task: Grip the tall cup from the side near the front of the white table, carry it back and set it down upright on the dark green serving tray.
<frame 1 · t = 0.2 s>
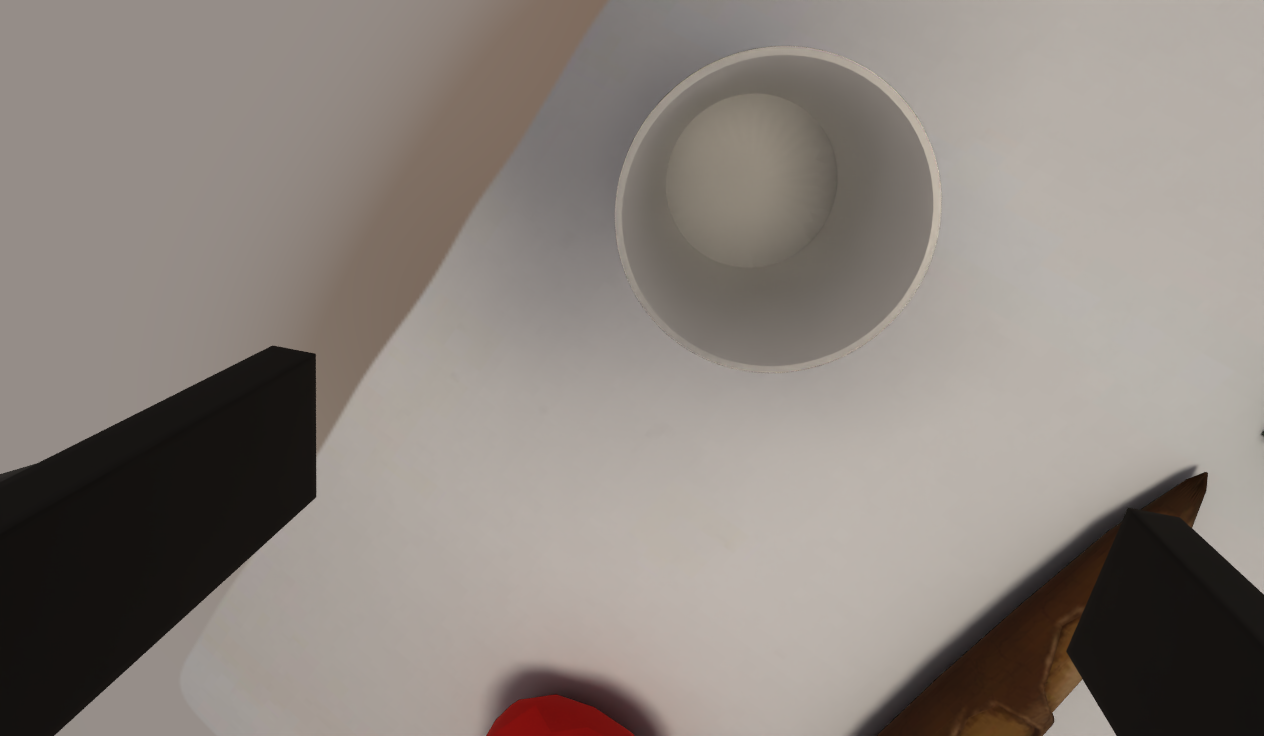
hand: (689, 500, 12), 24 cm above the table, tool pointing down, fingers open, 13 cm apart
cup: (749, 182, 34), on the table
bread: (927, 712, 41), on the table
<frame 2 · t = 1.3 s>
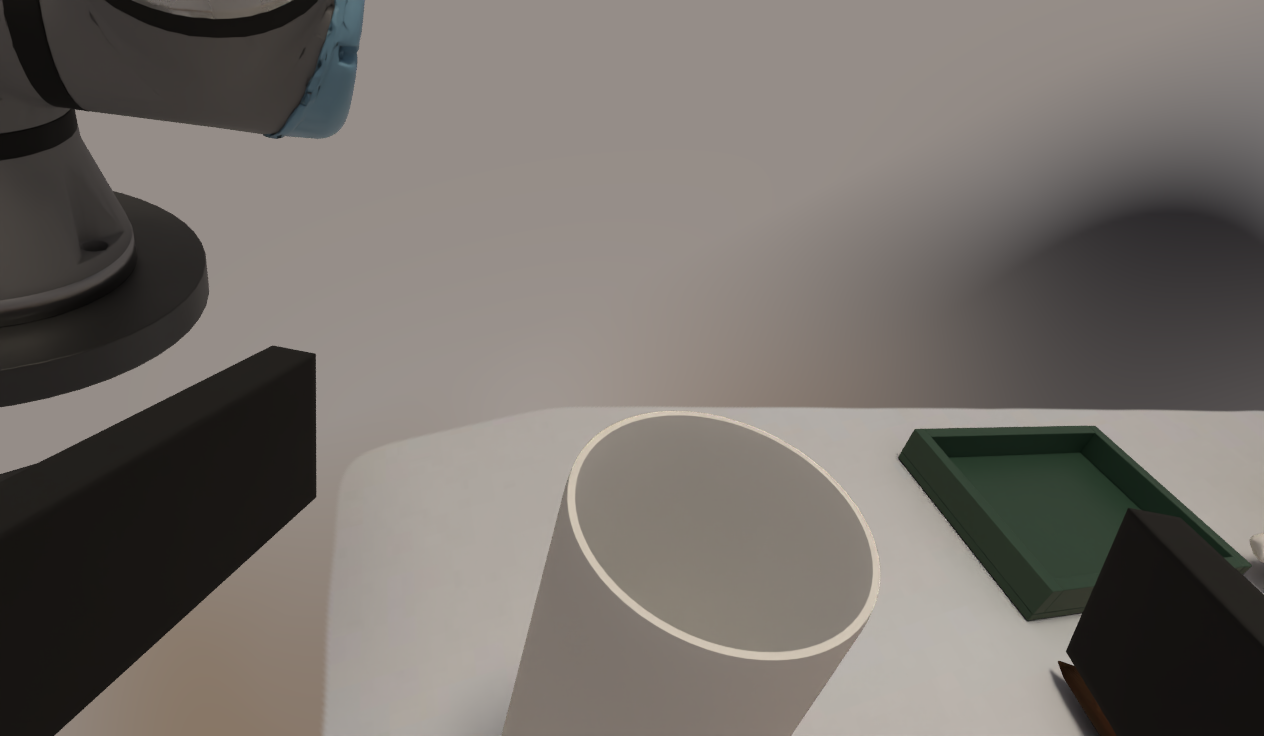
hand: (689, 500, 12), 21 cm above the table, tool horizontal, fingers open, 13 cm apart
tray: (1055, 522, 49), on the table
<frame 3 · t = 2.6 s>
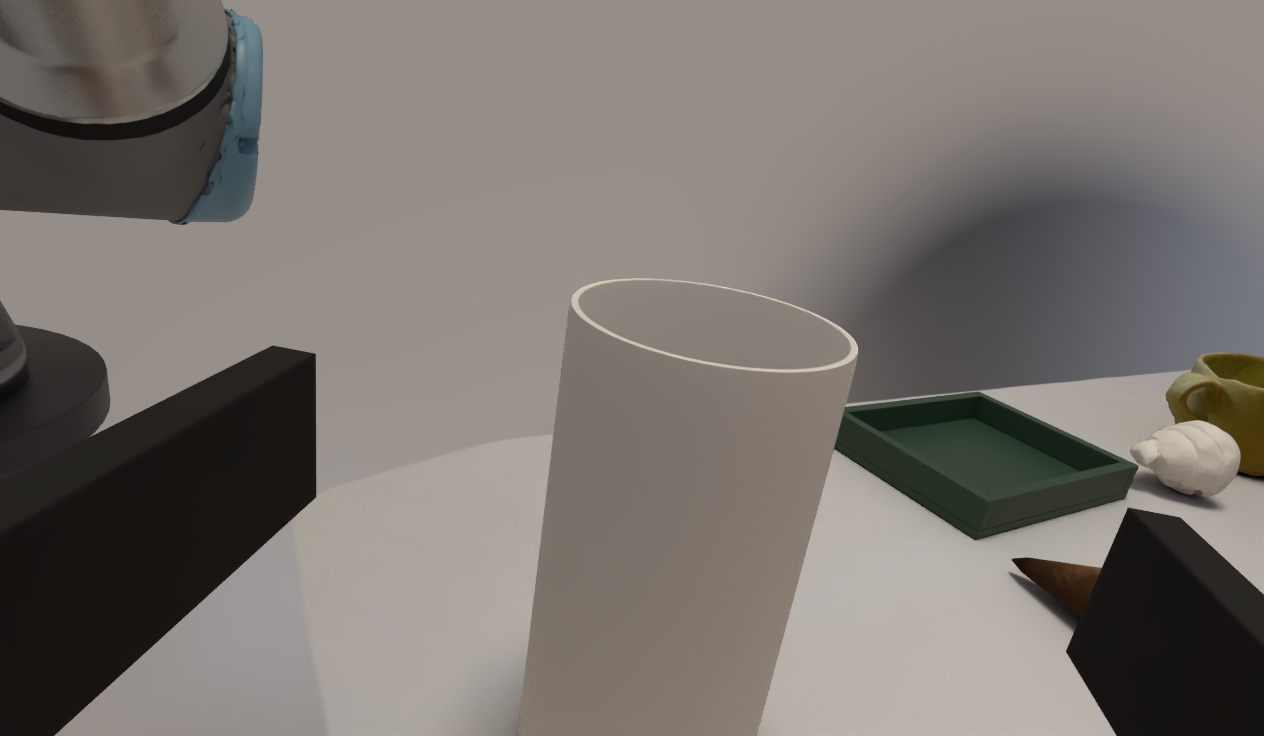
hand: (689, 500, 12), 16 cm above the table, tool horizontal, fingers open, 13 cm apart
tray: (971, 469, 53), on the table
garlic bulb: (1160, 490, 55), on the table
mug: (1209, 458, 63), on the table
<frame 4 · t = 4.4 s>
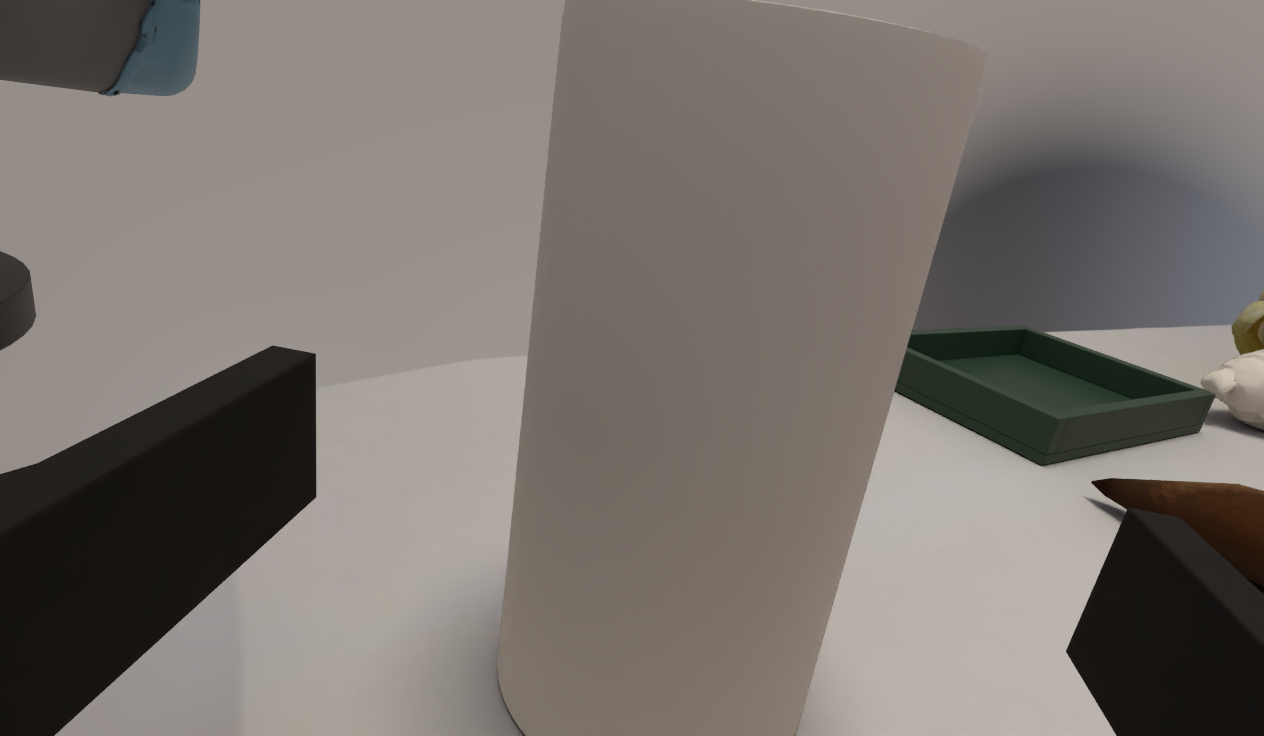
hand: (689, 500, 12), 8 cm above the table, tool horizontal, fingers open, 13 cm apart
tray: (1023, 400, 47), on the table
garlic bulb: (1234, 427, 49), on the table
cup: (648, 671, 20), on the table
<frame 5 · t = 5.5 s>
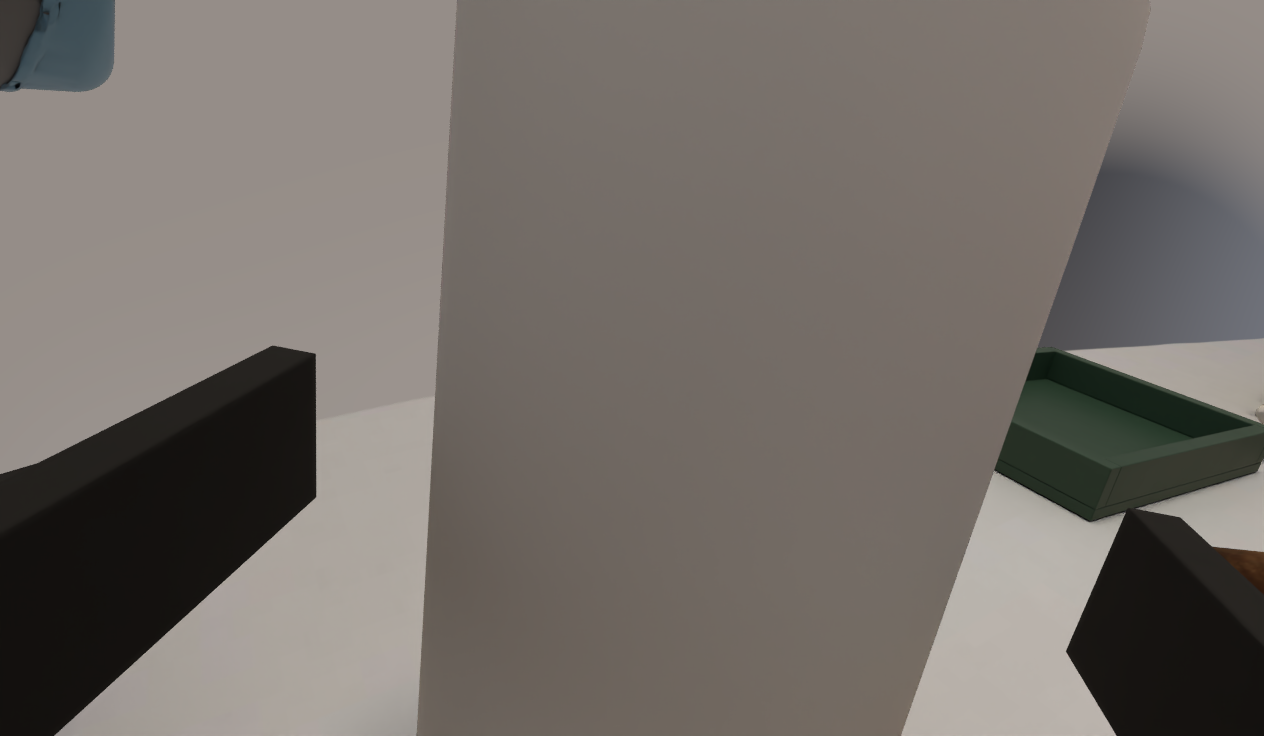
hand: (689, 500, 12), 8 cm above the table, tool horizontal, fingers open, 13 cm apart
tray: (1058, 435, 42), on the table
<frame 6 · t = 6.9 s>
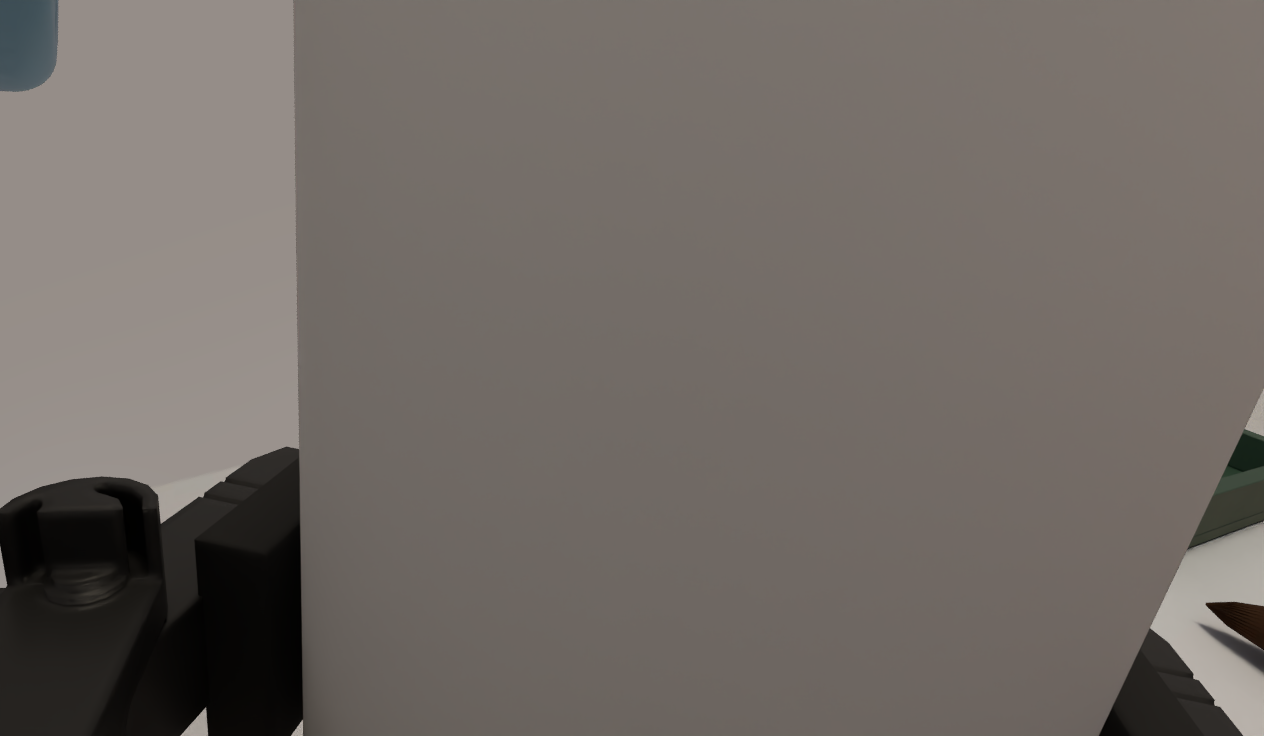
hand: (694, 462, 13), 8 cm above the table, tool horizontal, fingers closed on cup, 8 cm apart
tray: (1087, 465, 38), on the table
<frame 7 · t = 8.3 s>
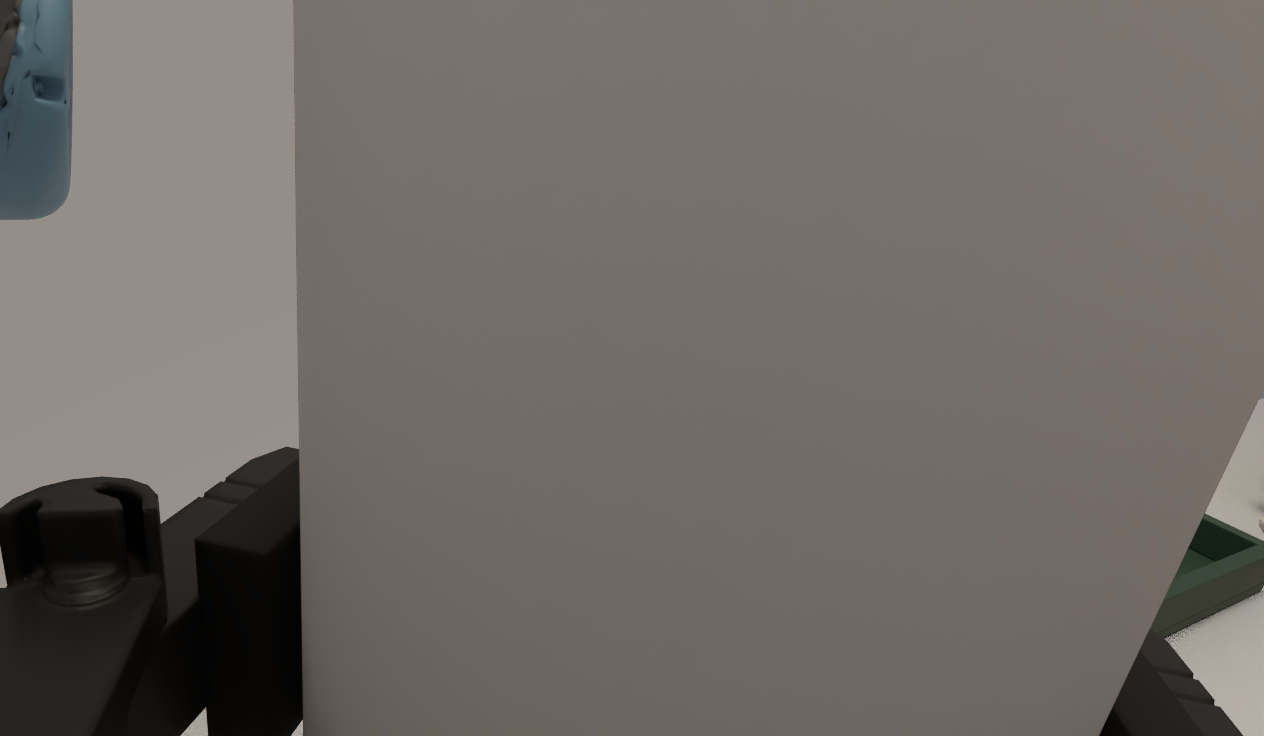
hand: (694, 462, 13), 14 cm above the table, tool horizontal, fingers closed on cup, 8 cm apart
tray: (1054, 551, 40), on the table
when the fingers open (9 cm above the table, at t = 17.3 s): cup stays where it is, resting on tray.
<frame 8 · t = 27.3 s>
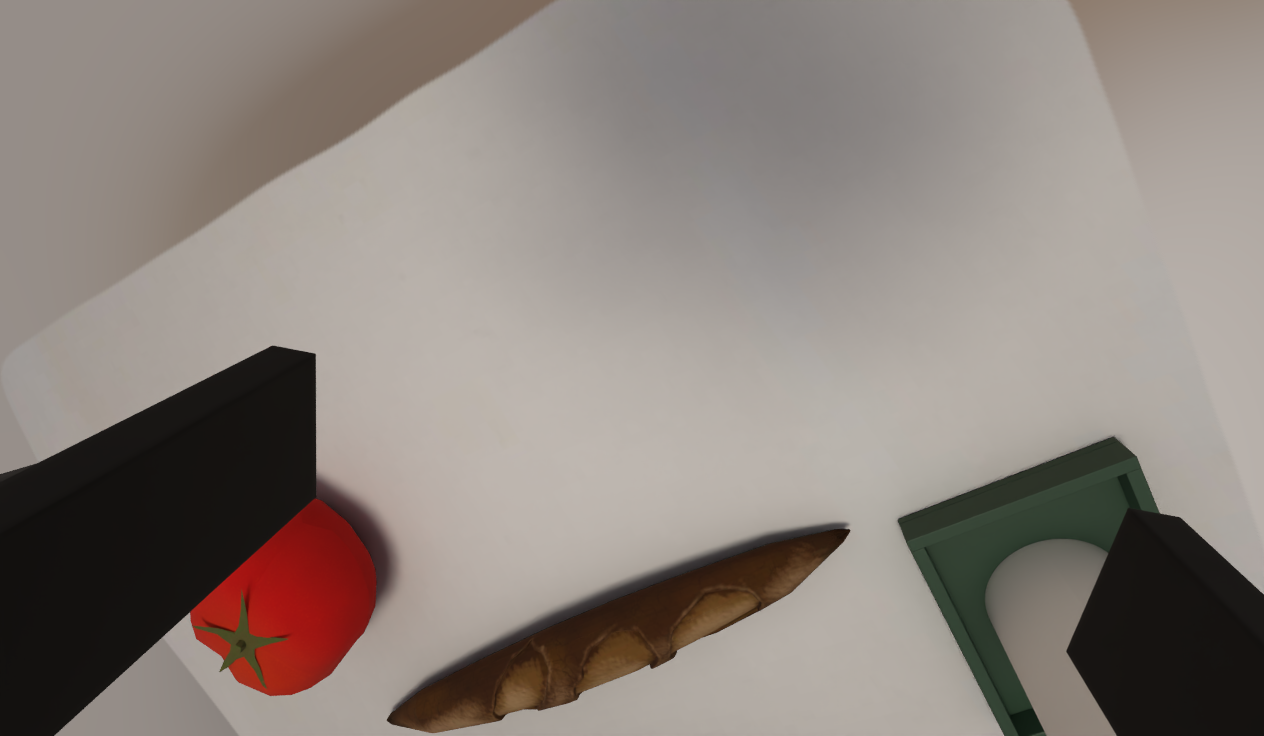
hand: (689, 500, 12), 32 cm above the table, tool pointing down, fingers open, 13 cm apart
tray: (1052, 589, 46), on the table
cup: (1053, 594, 46), resting on tray
bread: (597, 625, 52), on the table
tomato: (327, 548, 53), on the table
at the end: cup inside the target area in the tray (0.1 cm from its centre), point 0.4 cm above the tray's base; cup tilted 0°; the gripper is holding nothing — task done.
